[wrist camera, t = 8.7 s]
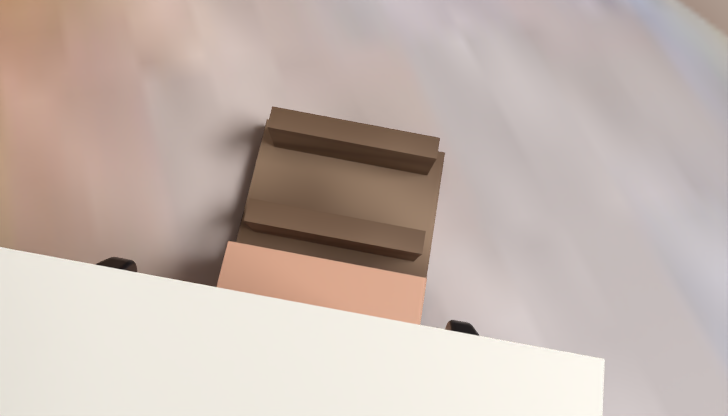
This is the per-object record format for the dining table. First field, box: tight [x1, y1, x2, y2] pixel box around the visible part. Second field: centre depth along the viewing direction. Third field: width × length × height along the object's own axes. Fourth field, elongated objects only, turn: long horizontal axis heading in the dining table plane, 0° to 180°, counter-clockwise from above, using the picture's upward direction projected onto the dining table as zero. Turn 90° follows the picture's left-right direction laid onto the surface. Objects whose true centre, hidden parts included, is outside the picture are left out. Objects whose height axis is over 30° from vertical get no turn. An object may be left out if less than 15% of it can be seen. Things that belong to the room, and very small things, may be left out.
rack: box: [236, 107, 445, 278], centre depth 21 cm, size 12×9×3 cm
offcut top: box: [217, 241, 427, 325], centre depth 19 cm, size 5×8×2 cm, turn 79°
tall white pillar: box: [0, 247, 605, 416], centre depth 9 cm, size 2×6×12 cm, turn 79°
